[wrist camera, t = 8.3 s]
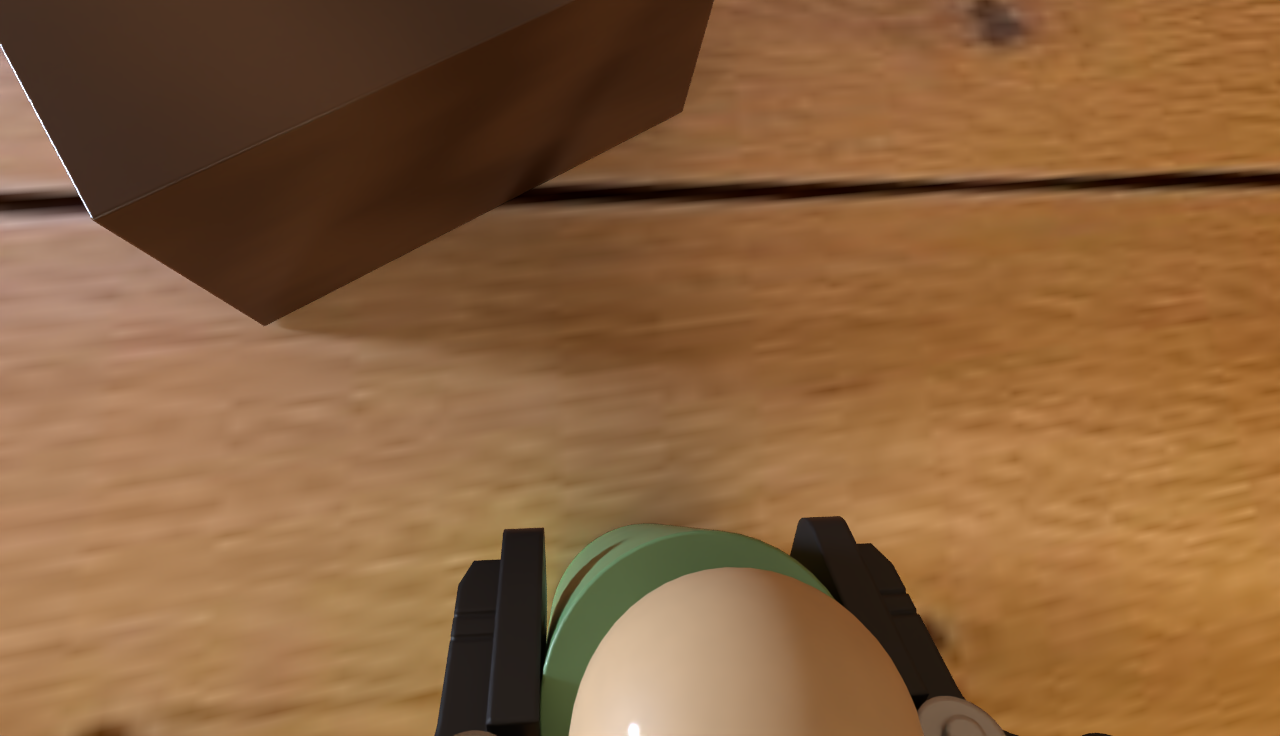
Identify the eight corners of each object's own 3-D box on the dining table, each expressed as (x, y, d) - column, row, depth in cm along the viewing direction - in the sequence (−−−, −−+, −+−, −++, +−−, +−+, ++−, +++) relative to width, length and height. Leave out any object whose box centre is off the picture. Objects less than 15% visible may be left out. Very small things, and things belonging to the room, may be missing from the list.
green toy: (615, 769, 16) (725, 1324, 5) (513, 592, 17) (413, 744, 6) (777, 651, 17) (1162, 900, 6) (675, 487, 18) (858, 443, 7)
